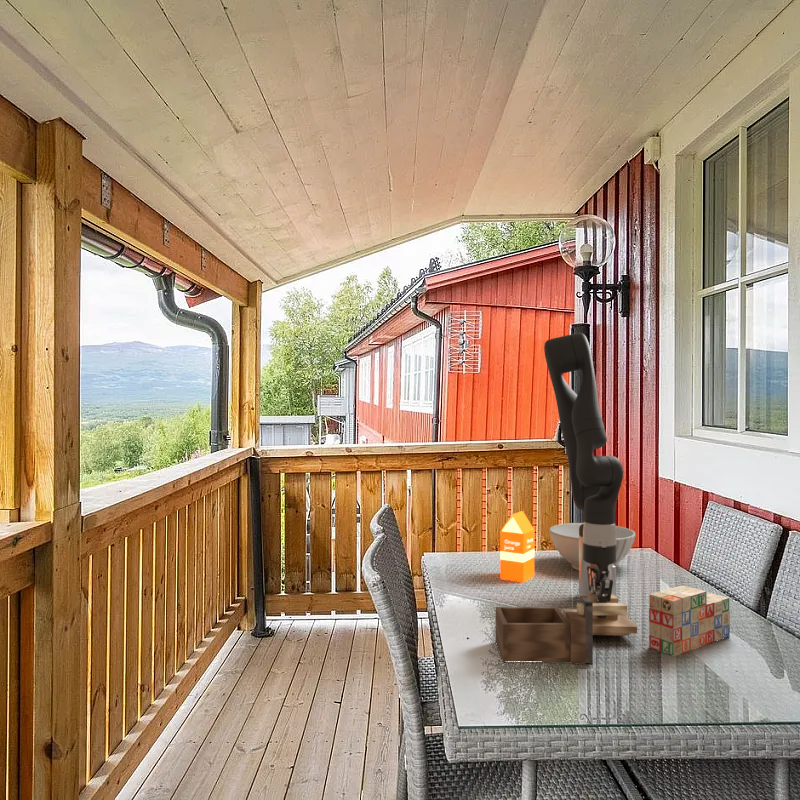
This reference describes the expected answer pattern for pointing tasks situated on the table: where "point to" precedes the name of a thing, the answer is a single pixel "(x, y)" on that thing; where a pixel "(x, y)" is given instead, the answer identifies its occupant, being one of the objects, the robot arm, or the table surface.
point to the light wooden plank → (605, 609)
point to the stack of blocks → (686, 619)
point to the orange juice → (517, 549)
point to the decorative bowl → (568, 542)
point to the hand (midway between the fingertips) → (599, 614)
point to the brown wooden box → (545, 634)
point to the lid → (609, 621)
